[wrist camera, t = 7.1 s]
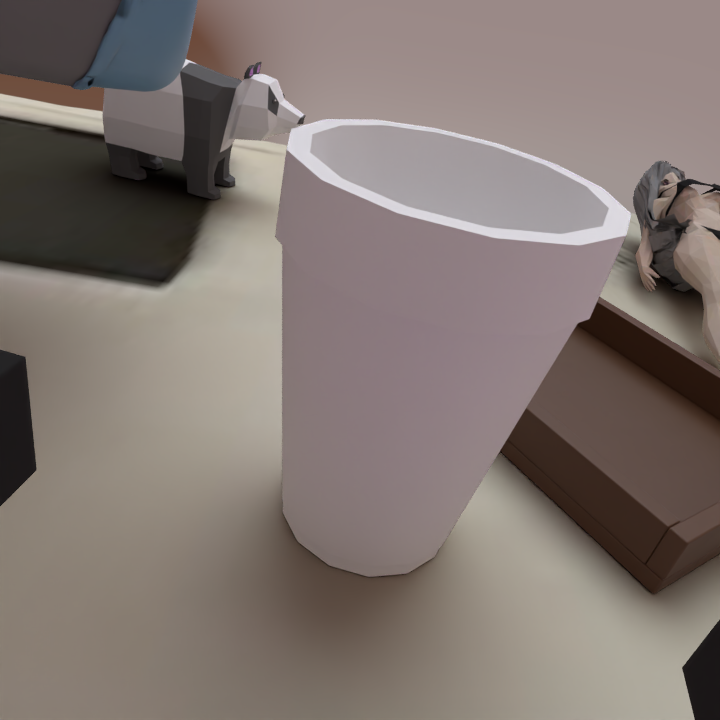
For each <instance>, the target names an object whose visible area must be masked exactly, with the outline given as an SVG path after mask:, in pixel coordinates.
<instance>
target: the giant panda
mask: <svg viewBox="0 0 720 720" xmlns="http://www.w3.org/2000/svg"><path fill="white" fill-rule="evenodd" d="M260 67H261V62H259V63H256V64H255V66H254V65H251V66H249V67H248V69H247V71H246V72H245V76H244V80H243V81H241V80H239V79H236V78H233V77H229V76H226V75H223V74H221V73H218V72H216V71H213V70H211V69H209V68H206V67H204V66H201V65H199V64H196V63H194V62H191V61H189V60H186V59H185V62H184V65H183V67H182V70H181V72H180V73H179V75H178V76H177V78H176V79H175V80H174V81H173V82H172V83H170V84H169V85H168V86H166V87H164V88H162V89H160V90H156V91H148V92H142V91H132V90H122V89H112V88H105V89H104V105H103V124H104V134H105V141H106V145H107V148H108V152H109V157H110V163H111V170H112V174H115V175H119V176H122V177H126V178H131V179H135V180H142V179H146V176H147V175H146V171H145V170H144V169H143V168H141V167H140V166H143V167H148V168H152V169H161V168H163V161H162V160H161V159H160V158H158V157H157V156H161V157H166V158H171V159H175V160H180V161H182V164H183V166H184V169H185V172H186V178H187V191H188V193H191V194H194V195H197V196H201V197H205V198H209V199H218V198H220V197H221V192H220V190H219V189H218V188H217V187H215V184H220V185H224V186H233V185H235V178H234V177H233V176H231V175H230V174H229V160H230V153H231V148H232V144H233V142H234V140H235V139H244V140H260V141H261V140H264V139H267V138H269V137H271V136H272V135H279V134H285V133H291V129H293V128H296V127H298V126H300V125H301V124H303V121H304V118H305V115H304V114H303V113H301V112H300V111H299V110H297V109H296V108H295V107H294V106H292V105H291V104H290V103H288V102H287V101H286V100H285V99H284V94H283V93H282V91H281V88H280V85H279V82H278V80H277V79H274V78H272V77H270V76H267V75H265V74H259V71H260Z"/></svg>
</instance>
